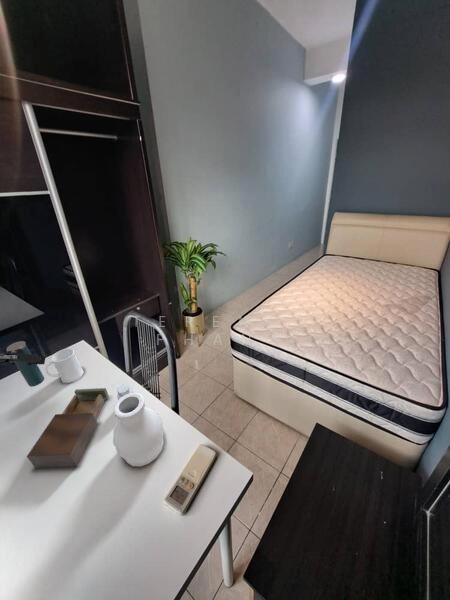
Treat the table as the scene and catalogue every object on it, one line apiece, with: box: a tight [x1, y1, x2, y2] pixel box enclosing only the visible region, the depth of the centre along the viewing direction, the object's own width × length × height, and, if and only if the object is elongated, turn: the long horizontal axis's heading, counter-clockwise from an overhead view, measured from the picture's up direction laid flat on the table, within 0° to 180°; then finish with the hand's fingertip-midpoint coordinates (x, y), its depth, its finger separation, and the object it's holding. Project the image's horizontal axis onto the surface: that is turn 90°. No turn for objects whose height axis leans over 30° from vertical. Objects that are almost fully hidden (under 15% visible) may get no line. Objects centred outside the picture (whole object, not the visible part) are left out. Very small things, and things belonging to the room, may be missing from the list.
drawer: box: [61, 387, 110, 420], centre depth 88 cm, size 14×11×5 cm
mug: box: [45, 348, 84, 384], centre depth 103 cm, size 12×8×12 cm
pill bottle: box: [116, 383, 134, 401], centre depth 89 cm, size 5×5×9 cm
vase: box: [112, 392, 165, 467], centre depth 73 cm, size 14×14×20 cm
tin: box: [6, 340, 45, 388], centre depth 84 cm, size 5×5×16 cm
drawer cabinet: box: [26, 413, 99, 469], centre depth 77 cm, size 14×13×7 cm
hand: (36, 360), depth 88 cm, fingers closed on tin, 5 cm apart
